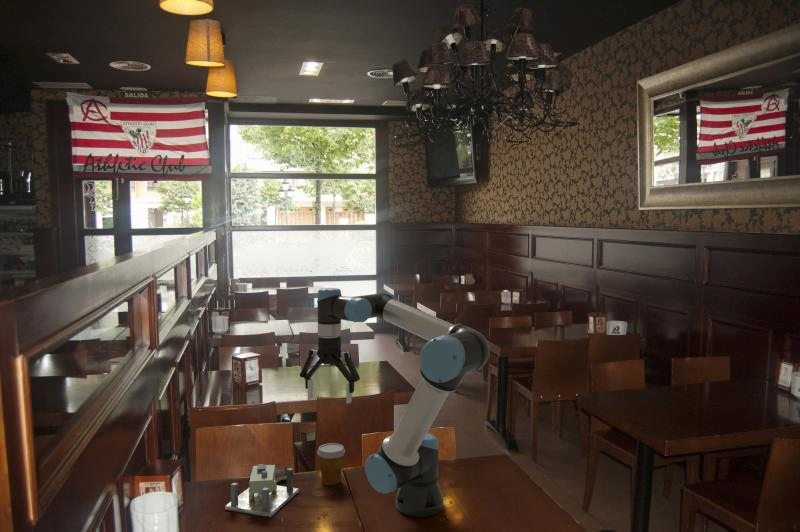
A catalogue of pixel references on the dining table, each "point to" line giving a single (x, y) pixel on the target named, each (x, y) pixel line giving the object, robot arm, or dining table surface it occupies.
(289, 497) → the chassis
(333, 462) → the disposable coffee cup
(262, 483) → the board
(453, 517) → the dining table surface
